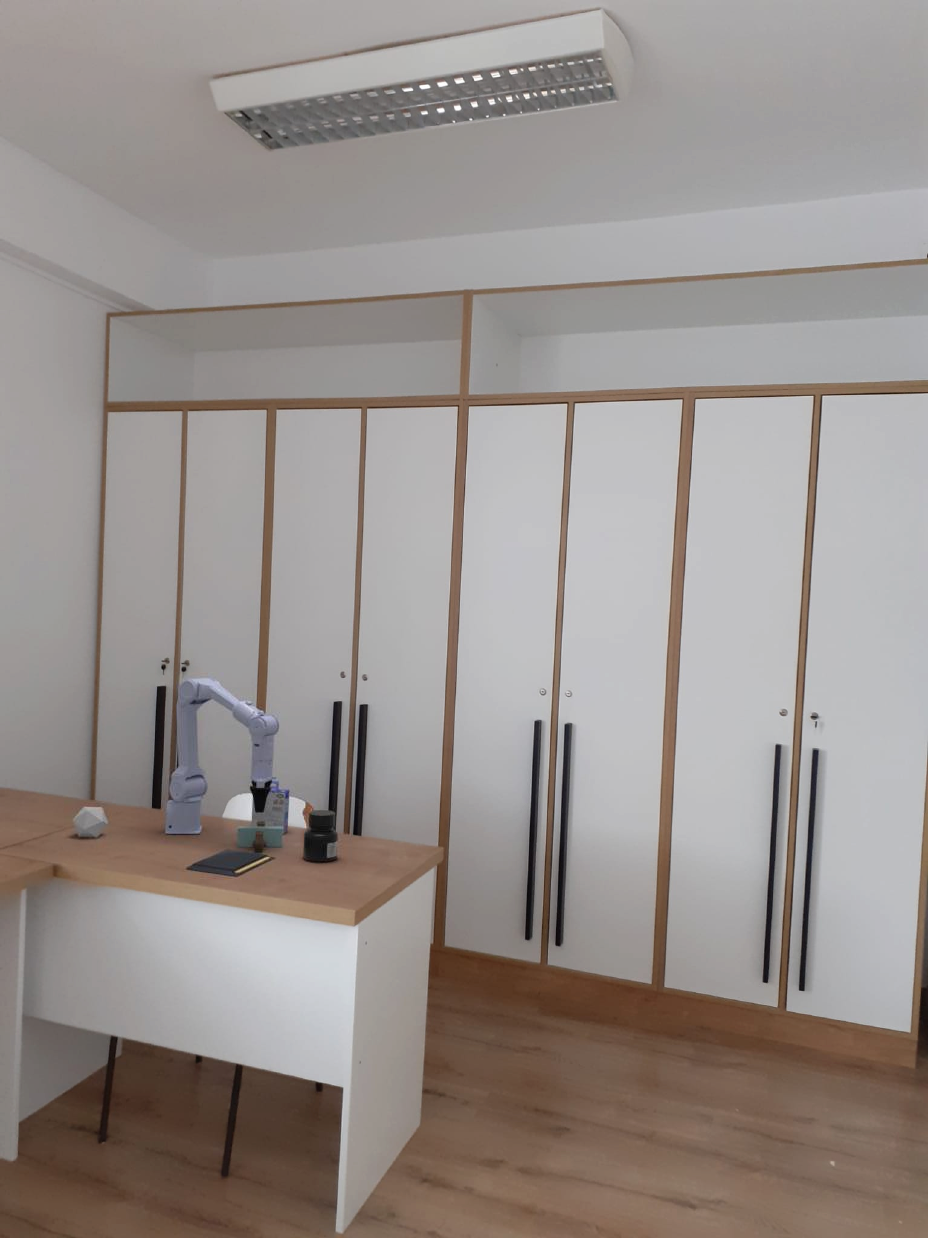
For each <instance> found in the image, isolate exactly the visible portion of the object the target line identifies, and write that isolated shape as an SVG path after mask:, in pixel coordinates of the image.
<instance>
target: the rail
mask: <svg viewBox="0 0 928 1238" xmlns="http://www.w3.org/2000/svg"><path fill="white" fill-rule="evenodd" d="M257 826H265V821H258V823H257ZM263 835H264V831H256V836H255V839H254V842H255V843H254V853H260V854H263V850H264V844H265V840H263Z"/></svg>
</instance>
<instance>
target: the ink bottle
mask: <svg viewBox="0 0 928 1238" xmlns="http://www.w3.org/2000/svg"><path fill="white" fill-rule="evenodd" d="M335 824H336V812H335V811H333V810H327V809H325V810H324V809H318V810H317V809H316V810H311V811H309V812H308V829H307V830H306V831H305V832H304V835H303V850H302V851H303V852H302V853H303V854H302V857H303V858H304V860H306V861H309V862H314V863H324V862H332V861H335V860H336V859H337V858H338V846H339V844H338V843H339V834H338V831H336V830H335V829H334V828H335Z"/></svg>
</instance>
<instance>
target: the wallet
mask: <svg viewBox="0 0 928 1238" xmlns="http://www.w3.org/2000/svg"><path fill="white" fill-rule="evenodd" d="M272 860H276V857H274V856H269V855H268V854H264V853H255V852H252V851H246V850H245V851H244V850H239V849H238V850H237V849H230V848H229V849H228V848H227V849H225V850H222V851H220V852H218V853H215V854H213V855H210V856H208V857H206V858H204V859H201V860H199V861H196V862H194V863H192V864H191V865H188V866H187V867H186V868H185V870H187V871H190V872H191V871H192V872H200V873H207V874H213V875H219V876H227V877H234V878H238V877H240V876H242V875H245V874H246V873H248V872H250V871H253V870H254V869H256V868H259V867H260V866H262V865H264V864H267V863H268V862H271V861H272Z"/></svg>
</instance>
